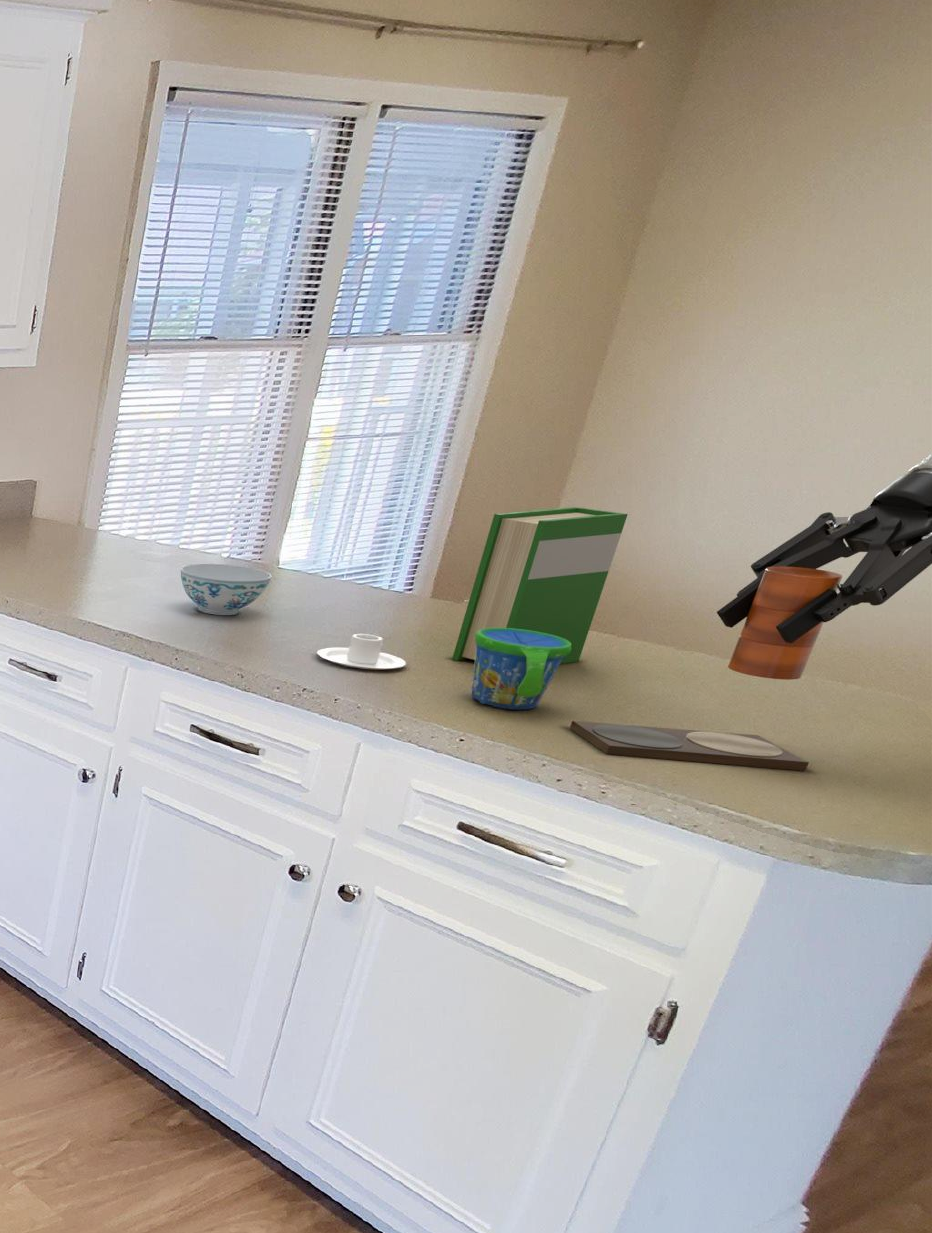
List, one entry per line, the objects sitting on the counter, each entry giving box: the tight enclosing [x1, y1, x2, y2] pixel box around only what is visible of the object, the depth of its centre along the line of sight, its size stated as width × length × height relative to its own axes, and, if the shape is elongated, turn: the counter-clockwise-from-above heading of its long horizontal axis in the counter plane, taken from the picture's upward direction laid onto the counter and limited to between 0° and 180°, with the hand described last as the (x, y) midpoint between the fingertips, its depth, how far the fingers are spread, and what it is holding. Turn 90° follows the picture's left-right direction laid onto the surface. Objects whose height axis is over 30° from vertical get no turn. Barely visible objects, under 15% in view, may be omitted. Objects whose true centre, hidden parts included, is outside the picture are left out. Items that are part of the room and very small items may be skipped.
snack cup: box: [471, 628, 571, 711], centre depth 162 cm, size 16×10×10 cm
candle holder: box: [316, 633, 407, 670], centre depth 183 cm, size 12×12×4 cm
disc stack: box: [727, 566, 843, 681], centre depth 138 cm, size 6×6×13 cm
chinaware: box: [180, 563, 272, 616], centre depth 215 cm, size 15×15×8 cm
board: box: [569, 720, 809, 772], centre depth 146 cm, size 10×20×1 cm, turn 71°
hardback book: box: [451, 506, 629, 664], centre depth 179 cm, size 18×7×24 cm, turn 106°
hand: (753, 627), depth 138 cm, fingers closed on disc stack, 6 cm apart
